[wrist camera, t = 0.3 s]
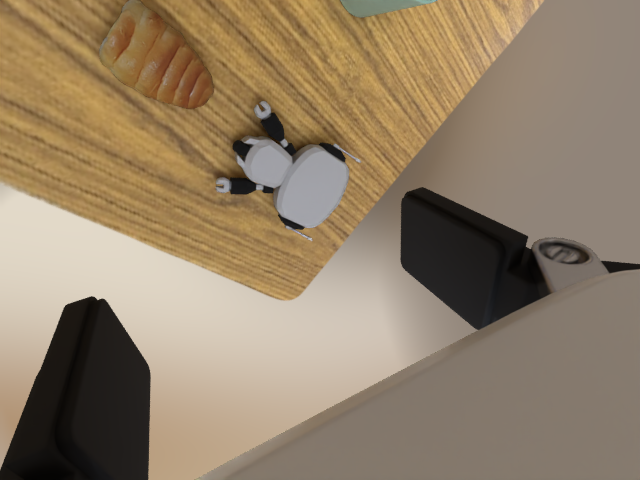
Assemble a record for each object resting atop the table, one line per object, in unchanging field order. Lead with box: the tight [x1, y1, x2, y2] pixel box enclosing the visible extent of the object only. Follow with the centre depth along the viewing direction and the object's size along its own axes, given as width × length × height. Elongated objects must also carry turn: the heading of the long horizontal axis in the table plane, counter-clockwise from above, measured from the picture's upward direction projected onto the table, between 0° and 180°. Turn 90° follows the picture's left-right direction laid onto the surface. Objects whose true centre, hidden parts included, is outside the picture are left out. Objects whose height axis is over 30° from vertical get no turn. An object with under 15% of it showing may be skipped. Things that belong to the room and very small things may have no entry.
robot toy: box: [216, 101, 361, 240], centre depth 39 cm, size 12×4×15 cm
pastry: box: [99, 0, 214, 109], centre depth 29 cm, size 9×7×4 cm
